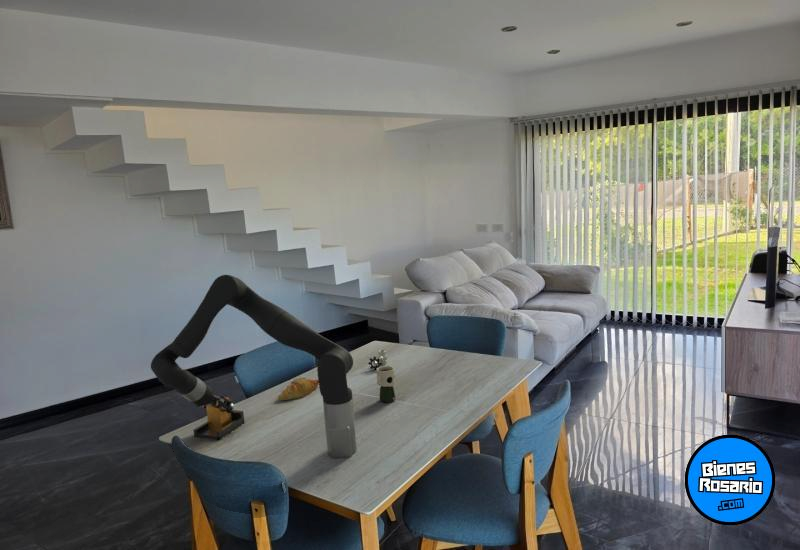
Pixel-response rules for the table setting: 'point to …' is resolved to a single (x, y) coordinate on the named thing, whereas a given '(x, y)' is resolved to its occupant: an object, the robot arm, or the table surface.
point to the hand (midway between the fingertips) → (221, 409)
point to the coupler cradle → (207, 433)
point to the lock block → (218, 417)
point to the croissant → (298, 389)
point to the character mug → (386, 382)
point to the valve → (379, 359)
